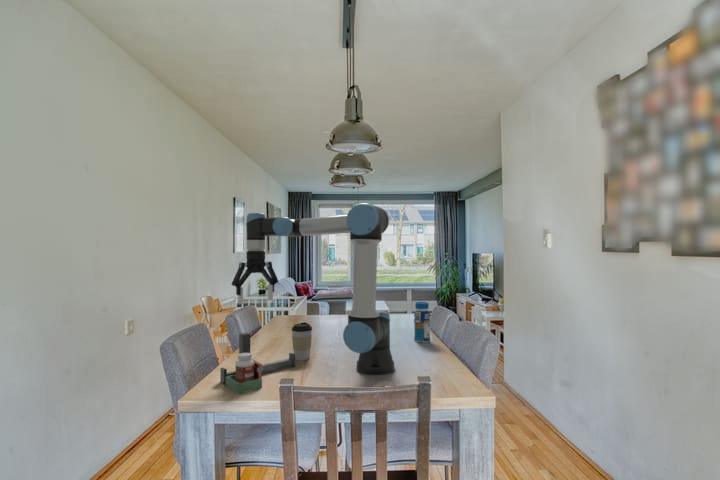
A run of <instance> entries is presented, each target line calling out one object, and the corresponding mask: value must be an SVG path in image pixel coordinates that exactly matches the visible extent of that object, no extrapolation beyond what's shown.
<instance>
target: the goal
mask: <svg viewBox="0 0 720 480" xmlns="http://www.w3.org/2000/svg"><path fill="white" fill-rule="evenodd" d="M224 386H226V388H229V389H230V390H232V391H234V392H235V393H236V394H238V395H239V394H242V393H247V392H250V391H253V390H258V389H261V388H263V378H262V379H261V378H259V379H255V380H251V381H247V382H243V383H239V382H237V381H236V374H235V375H230V376H226V377H225V384H224Z"/></svg>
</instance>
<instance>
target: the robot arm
mask: <svg viewBox="0 0 720 480" xmlns="http://www.w3.org/2000/svg"><path fill="white" fill-rule="evenodd" d="M389 223H390V221H389V215H388V214H387V212H386V210H384V209H383V208H382V207H380V206H376V205H374V204H371V203H366V202H365V203H364V202H362V203H357V204H355V205H354V206H352V207H351V208H350V210H348V212H347V214H344V215H343V214H342V215H330V216H319V217H308V218H307V217H305V218H293V219H292V218H290V217H286V216H278V217H275V216H274V217H266V214H265V213H263V212H262V213H261V212H249V213H248V214H247V215H246V224H245V225H246V250H247V251H246V262H239V263H238V269H237V272H235V275H234V278H233V280H232V282H231V286H232V287H233V286H234V287H235V293H236V296H237V298H238V299H237V304H239V305H240V304H244V287H243V284H245V282H246V281H247V279H248V278H249V276H250V275H251V274H256V273H259V274H261V275H262V276H263V277H264V278H265V280H266V281H267V282H268V283H269V284H267V300H268V301H273V300H274V297H273V296H274V292H275V285H277V284H278V283H279V279H278V276H277V274H276V272H275V270H274V268H273V262H272V261H266V251H265V250H266V237H273V236H274V237H290V238H291V237H293V238H299V237H306V236H307V237H308V236H321V235H340V234H350V238H349V240H350V241H351V242H352V244H353V275H352V276H353V278H352V279H353V281H352V283H353V284H352V308H351V310H350V311H349V312H348V314H347V324H346V326H345V327H344V329H343V332H342V336H343V337H342V338H343V342H344V344H345V345H346V347H347V348H348V349H349V350H350V351H352V352H353V353H357V354H359V355H358V358H357V359H358V360H357V361H356V370H357V371H358V372H360V373H363V374H367V375H368V374H369V375H383V374H384V375H385V374H389V373H391V372H393V371H394V370H395V362H394V360H393V355H392V352H391V343H390V342H391V330H390V329H391V328H390V327H391V317H390V313H389V312H388V311H385V310H384V311H382V310H381V311H380V310H377V309H376V308H377V307H376V304H377V303H376V302H377V272H378V271H377V270H378V269H377V268H378V267H377V266H378V262H377V261H378V245H379V244H380V243H381V242H382V237H383V234H384V233H385V232H386V231H387V229H388V227H389ZM265 267H266V269H267V270H266V269H265ZM245 268H247V269H246V270H245ZM244 271H245V272H244ZM267 271H268V272H267Z"/></svg>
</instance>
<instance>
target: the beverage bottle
mask: <svg viewBox="0 0 720 480" xmlns="http://www.w3.org/2000/svg"><path fill="white" fill-rule="evenodd" d="M414 304H415V309H416V310H415V312H414V315H413V317H414V319H413V323H414V324H413V325H414V339H413V340H414V342H416V343H420V342H422V344H423V343H424V344H426V343H429V342H430V341H431V319H430V317H431V314H430V312H429V309H430V308H429V305H430V304H429V302H428V301H416V302H415V303H414Z"/></svg>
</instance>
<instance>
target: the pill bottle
mask: <svg viewBox="0 0 720 480" xmlns="http://www.w3.org/2000/svg"><path fill="white" fill-rule="evenodd" d="M252 356H253V354H252V353H251V352H250V353H241V354H239V353H238V355H237V360H236V361H237V362H236V361H235V371H236V381H237V382H239V383H243V382H247V381H251V380H254V361H255V360H254V359H253V357H252ZM251 359H253V360H254V361H253V360H251Z"/></svg>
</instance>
